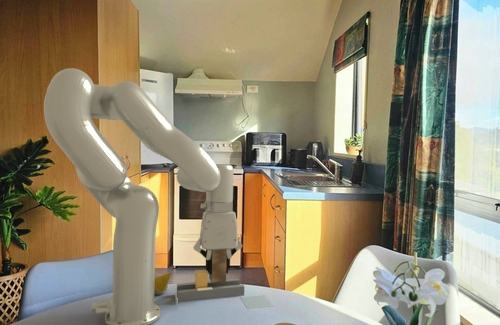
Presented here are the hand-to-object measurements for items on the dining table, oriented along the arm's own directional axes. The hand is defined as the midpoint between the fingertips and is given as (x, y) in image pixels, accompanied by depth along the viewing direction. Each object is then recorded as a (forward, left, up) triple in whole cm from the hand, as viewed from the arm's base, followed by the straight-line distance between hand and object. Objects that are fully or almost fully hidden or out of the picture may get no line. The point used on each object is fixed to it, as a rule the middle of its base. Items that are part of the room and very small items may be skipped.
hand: (217, 271), depth 93 cm
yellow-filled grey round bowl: (-15, +5, -7) cm, 17 cm away
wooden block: (0, 0, -2) cm, 2 cm away
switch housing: (-2, 0, -7) cm, 7 cm away
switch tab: (-5, 0, -5) cm, 7 cm away
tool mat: (+9, -8, -7) cm, 14 cm away
